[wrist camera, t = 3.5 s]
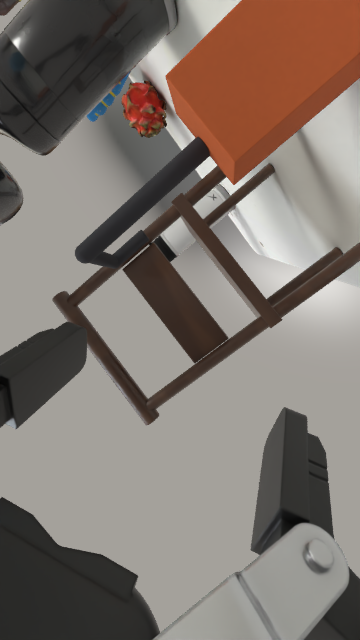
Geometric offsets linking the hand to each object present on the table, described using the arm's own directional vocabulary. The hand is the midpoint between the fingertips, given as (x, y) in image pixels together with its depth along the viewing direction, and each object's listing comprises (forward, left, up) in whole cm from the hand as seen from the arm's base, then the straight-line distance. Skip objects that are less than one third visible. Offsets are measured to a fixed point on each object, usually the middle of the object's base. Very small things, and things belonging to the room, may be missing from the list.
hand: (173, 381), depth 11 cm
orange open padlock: (-12, +2, -17) cm, 21 cm away
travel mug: (-56, -22, -17) cm, 62 cm away
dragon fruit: (-63, 0, -17) cm, 65 cm away
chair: (-19, -11, -17) cm, 27 cm away
